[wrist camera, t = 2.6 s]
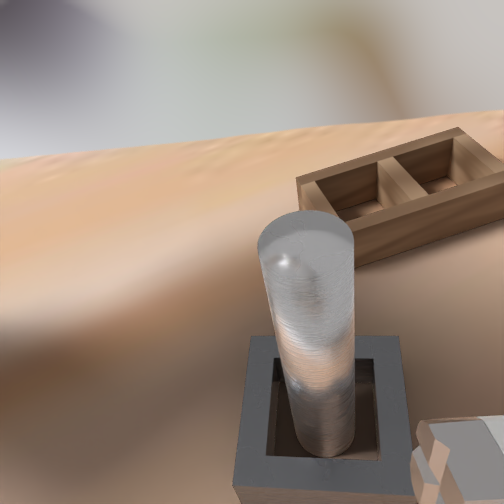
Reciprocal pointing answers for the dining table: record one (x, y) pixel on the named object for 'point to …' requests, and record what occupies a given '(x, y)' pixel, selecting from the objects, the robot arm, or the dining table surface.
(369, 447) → the dining table surface
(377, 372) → the socket block
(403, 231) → the tool rack
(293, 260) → the rod
